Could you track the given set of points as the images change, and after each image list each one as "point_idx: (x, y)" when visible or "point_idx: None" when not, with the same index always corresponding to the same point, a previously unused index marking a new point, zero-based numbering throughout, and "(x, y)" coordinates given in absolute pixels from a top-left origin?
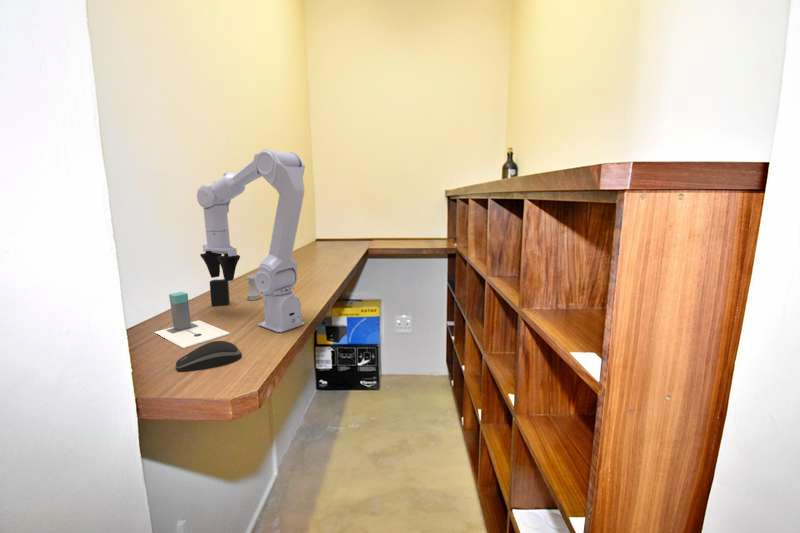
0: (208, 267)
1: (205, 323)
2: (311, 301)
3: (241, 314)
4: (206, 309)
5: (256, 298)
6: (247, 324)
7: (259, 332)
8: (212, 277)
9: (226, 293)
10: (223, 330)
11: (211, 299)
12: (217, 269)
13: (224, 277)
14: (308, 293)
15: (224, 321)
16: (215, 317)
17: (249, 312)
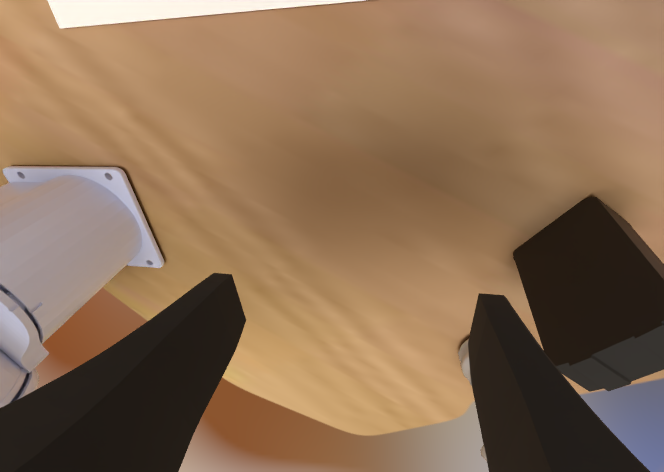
0: (538, 392)
1: (283, 1)
2: (278, 389)
3: (315, 207)
4: (573, 147)
5: (460, 349)
6: (163, 149)
7: (45, 127)
8: (480, 297)
9: (535, 295)
10: (112, 22)
11: (609, 218)
12: (486, 410)
13: (197, 292)
14: (366, 433)
15: (269, 104)
16: (371, 106)
17: (317, 239)
